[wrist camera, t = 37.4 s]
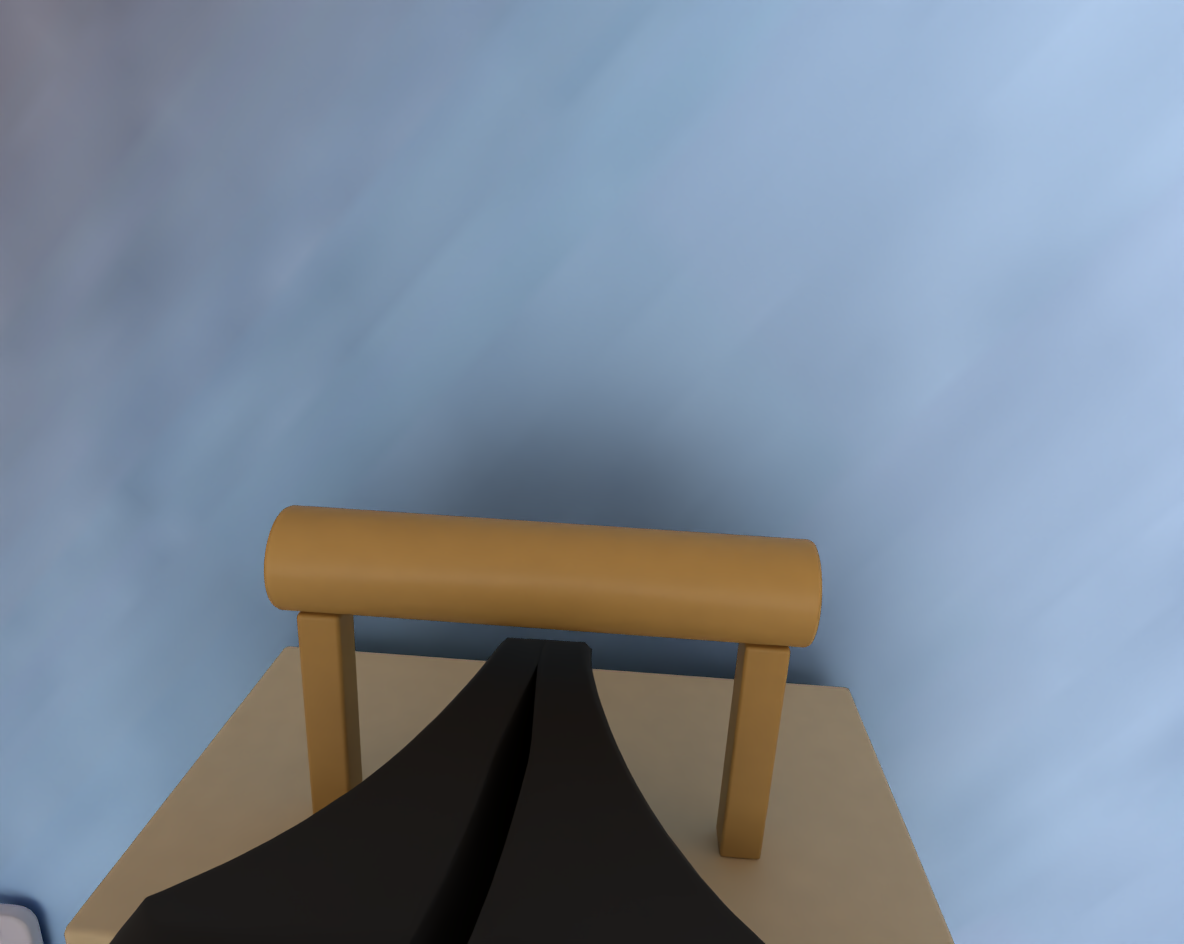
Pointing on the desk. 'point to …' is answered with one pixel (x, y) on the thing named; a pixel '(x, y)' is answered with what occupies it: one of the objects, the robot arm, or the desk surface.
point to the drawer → (629, 699)
